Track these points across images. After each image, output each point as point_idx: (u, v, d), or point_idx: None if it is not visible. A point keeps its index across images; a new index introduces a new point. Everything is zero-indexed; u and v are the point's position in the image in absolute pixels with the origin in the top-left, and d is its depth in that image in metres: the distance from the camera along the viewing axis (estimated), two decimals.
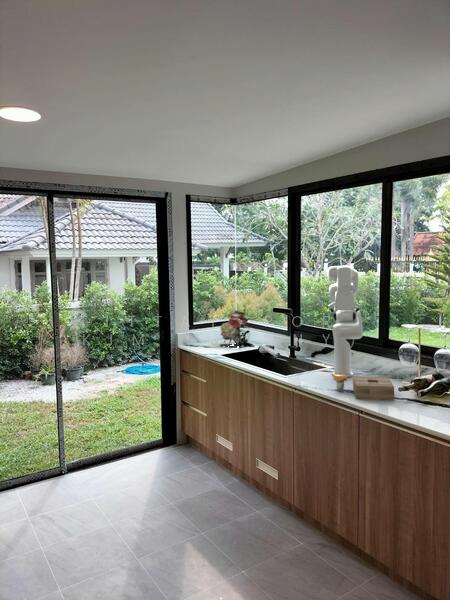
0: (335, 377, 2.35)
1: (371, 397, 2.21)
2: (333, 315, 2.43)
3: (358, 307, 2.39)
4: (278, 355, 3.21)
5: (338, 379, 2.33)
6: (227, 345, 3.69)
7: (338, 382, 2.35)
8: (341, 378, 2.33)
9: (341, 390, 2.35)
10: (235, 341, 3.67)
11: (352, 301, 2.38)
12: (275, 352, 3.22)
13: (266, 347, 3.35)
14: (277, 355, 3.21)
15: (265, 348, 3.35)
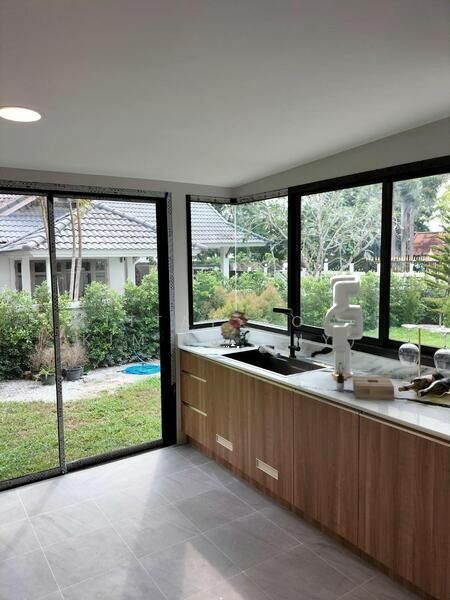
0: (335, 377, 2.35)
1: (371, 397, 2.21)
2: (340, 378, 2.32)
3: None
4: (278, 355, 3.21)
5: None
6: (227, 345, 3.69)
7: None
8: None
9: (341, 390, 2.35)
10: (235, 341, 3.67)
11: None
12: (275, 352, 3.22)
13: (266, 347, 3.34)
14: (277, 355, 3.21)
15: (265, 348, 3.34)
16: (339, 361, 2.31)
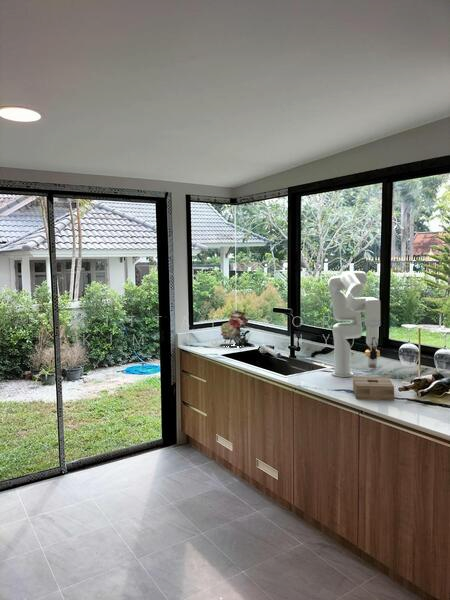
0: (367, 353, 2.25)
1: (371, 397, 2.21)
2: (373, 353, 2.22)
3: None
4: (278, 355, 3.21)
5: None
6: (227, 345, 3.69)
7: None
8: None
9: (374, 366, 2.26)
10: (235, 341, 3.67)
11: None
12: (275, 352, 3.22)
13: (266, 347, 3.34)
14: (277, 355, 3.20)
15: (265, 348, 3.34)
16: (372, 336, 2.21)
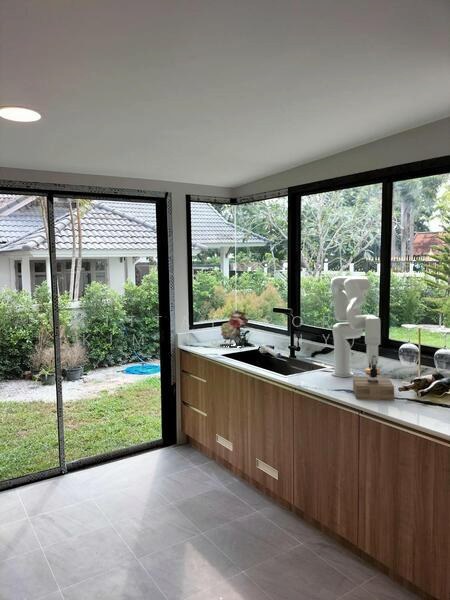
0: (368, 371, 2.26)
1: (371, 397, 2.21)
2: (373, 372, 2.23)
3: None
4: (279, 355, 3.21)
5: None
6: (227, 345, 3.69)
7: None
8: None
9: None
10: (235, 341, 3.67)
11: None
12: (276, 352, 3.22)
13: (266, 347, 3.34)
14: (278, 355, 3.20)
15: (265, 348, 3.34)
16: (372, 354, 2.22)
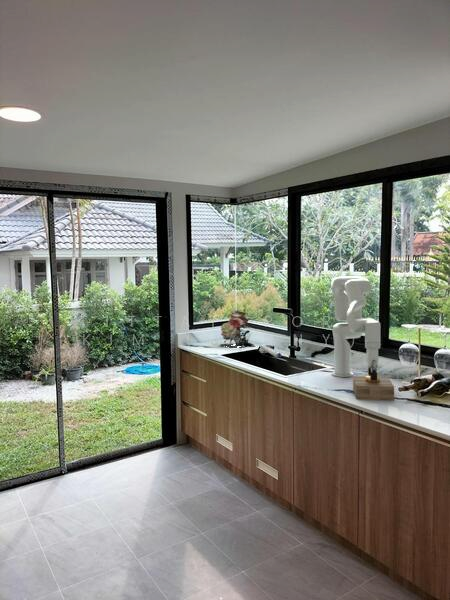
0: (367, 378, 2.27)
1: (371, 397, 2.21)
2: (373, 375, 2.22)
3: None
4: (279, 355, 3.21)
5: (371, 380, 2.25)
6: (227, 345, 3.69)
7: None
8: None
9: None
10: (236, 341, 3.67)
11: None
12: (276, 352, 3.22)
13: (266, 347, 3.34)
14: (278, 355, 3.20)
15: (265, 348, 3.34)
16: (372, 358, 2.22)
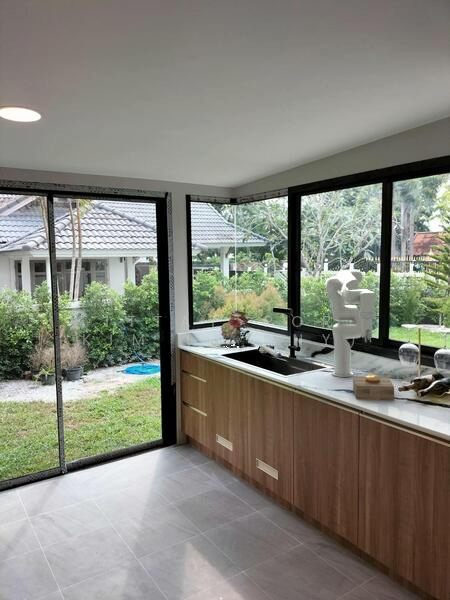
0: (367, 378, 2.27)
1: (371, 397, 2.21)
2: (367, 344, 2.26)
3: None
4: (279, 355, 3.20)
5: (371, 380, 2.25)
6: (228, 345, 3.69)
7: None
8: (374, 379, 2.25)
9: None
10: (236, 341, 3.67)
11: None
12: (276, 352, 3.22)
13: (267, 347, 3.34)
14: (278, 355, 3.20)
15: (266, 348, 3.34)
16: (367, 328, 2.26)
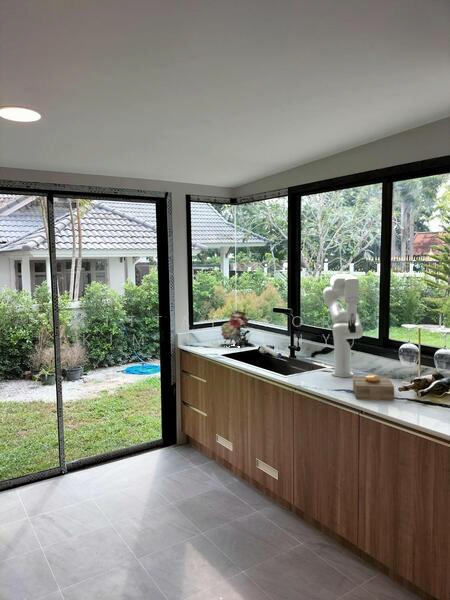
0: (367, 378, 2.27)
1: (371, 397, 2.21)
2: (352, 328, 2.38)
3: None
4: (279, 355, 3.20)
5: (371, 380, 2.25)
6: (228, 345, 3.69)
7: None
8: (374, 379, 2.25)
9: None
10: (236, 341, 3.67)
11: None
12: (276, 352, 3.21)
13: (267, 347, 3.33)
14: (278, 355, 3.20)
15: (266, 348, 3.33)
16: (351, 312, 2.38)
